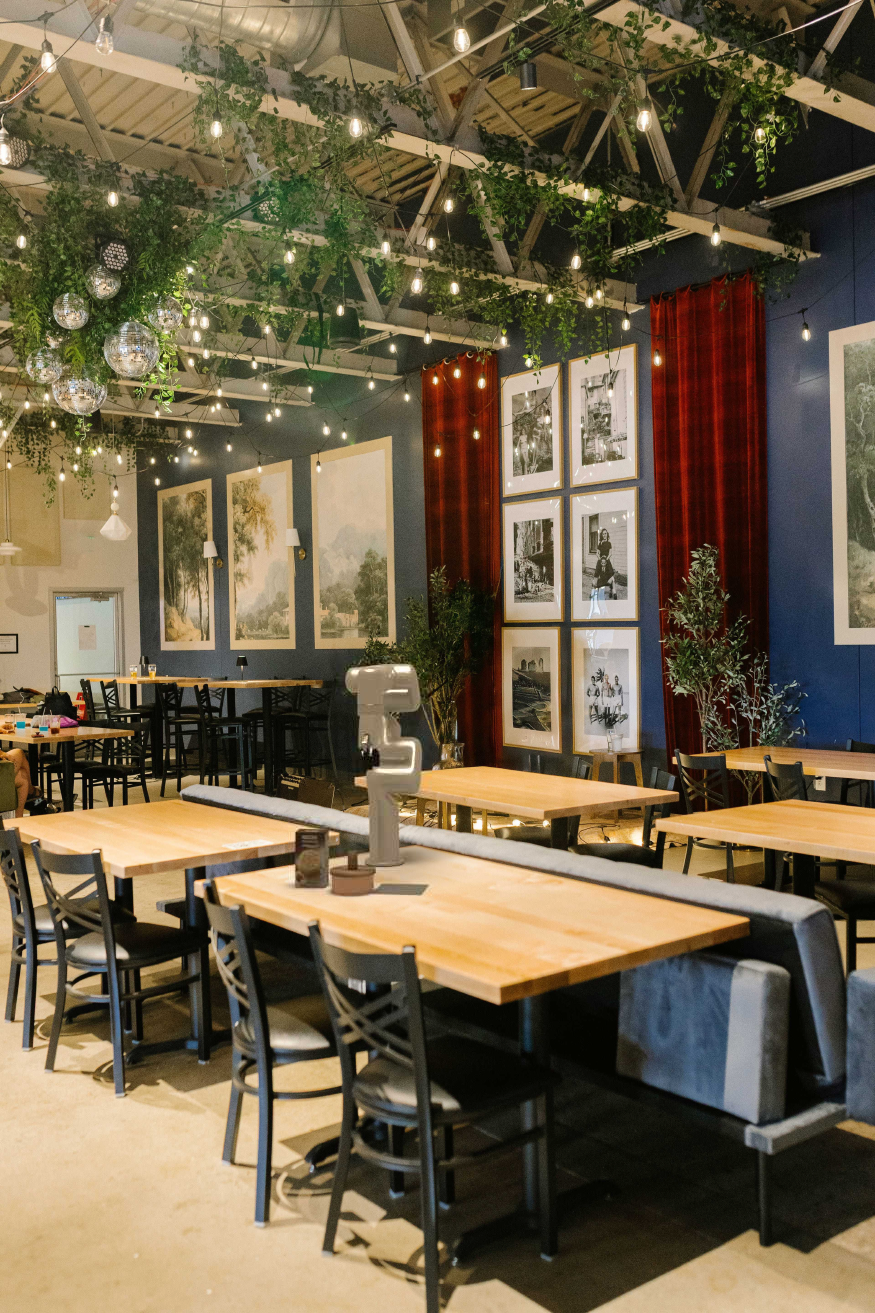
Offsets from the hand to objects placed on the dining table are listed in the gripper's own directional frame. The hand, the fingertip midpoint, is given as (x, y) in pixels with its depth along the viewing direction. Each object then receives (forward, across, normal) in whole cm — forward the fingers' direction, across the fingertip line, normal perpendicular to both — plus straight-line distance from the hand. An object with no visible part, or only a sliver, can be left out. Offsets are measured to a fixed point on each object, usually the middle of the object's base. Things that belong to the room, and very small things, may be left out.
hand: (370, 768), depth 314 cm
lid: (+28, +16, -2) cm, 32 cm away
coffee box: (+34, +8, -16) cm, 38 cm away
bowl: (+33, +16, -2) cm, 37 cm away
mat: (+33, +12, +11) cm, 37 cm away
